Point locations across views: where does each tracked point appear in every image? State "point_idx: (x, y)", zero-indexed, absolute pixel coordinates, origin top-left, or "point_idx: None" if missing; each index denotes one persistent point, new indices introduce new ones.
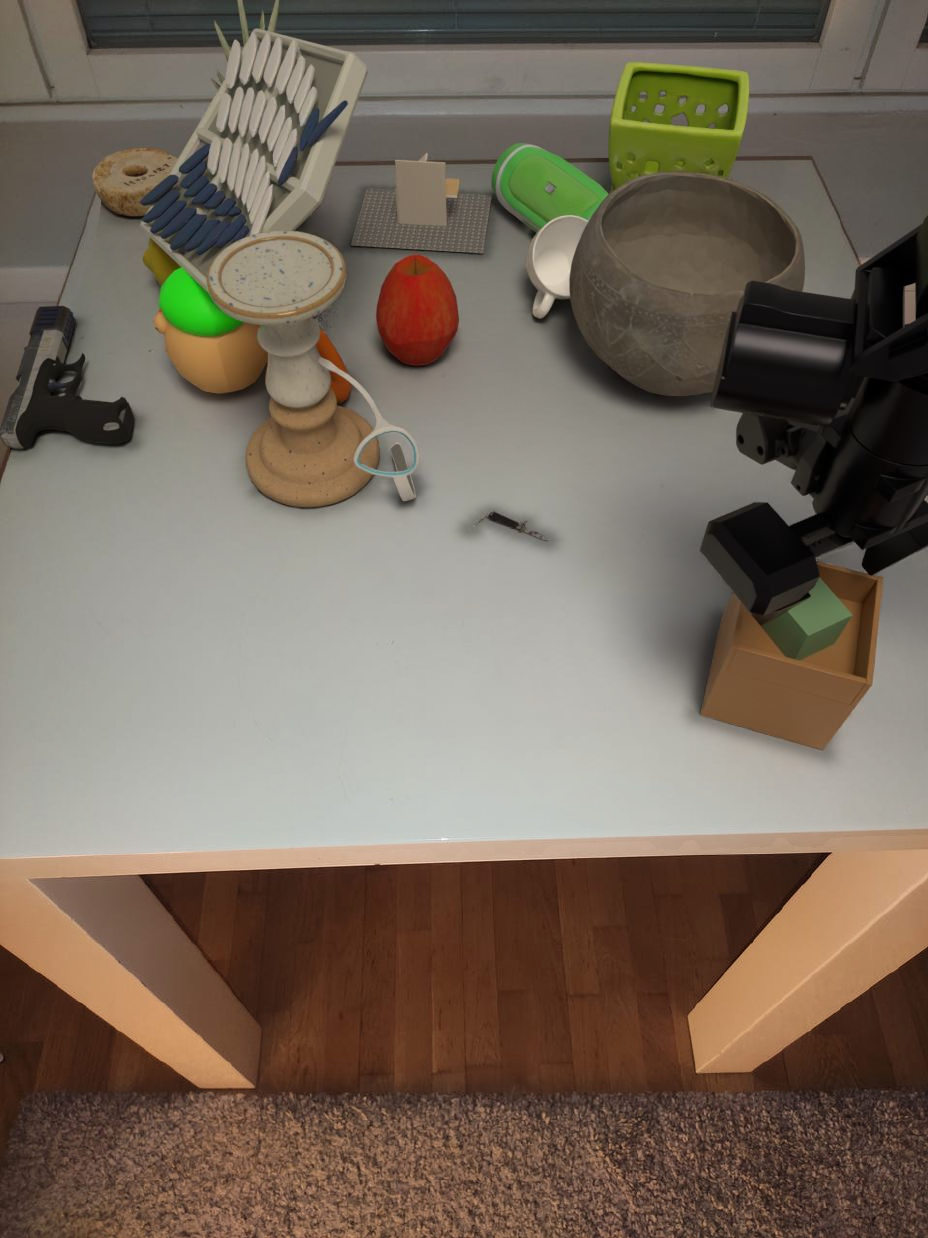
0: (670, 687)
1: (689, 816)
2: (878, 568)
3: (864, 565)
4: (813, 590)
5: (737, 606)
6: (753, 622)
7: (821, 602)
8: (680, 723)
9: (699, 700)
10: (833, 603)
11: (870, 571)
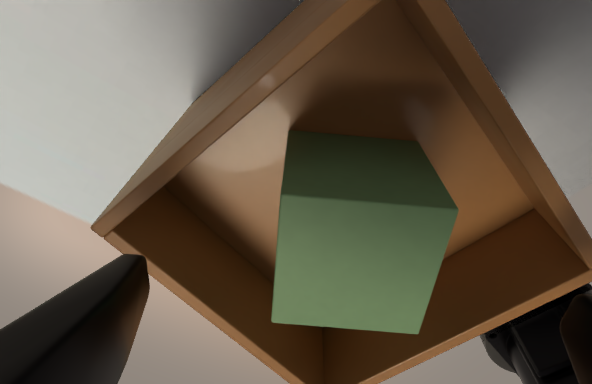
0: (172, 32)
1: (97, 213)
2: (583, 382)
3: (580, 312)
4: (398, 240)
5: (222, 102)
6: (278, 119)
7: (382, 277)
8: (153, 99)
9: (206, 81)
10: (406, 295)
11: (569, 333)
